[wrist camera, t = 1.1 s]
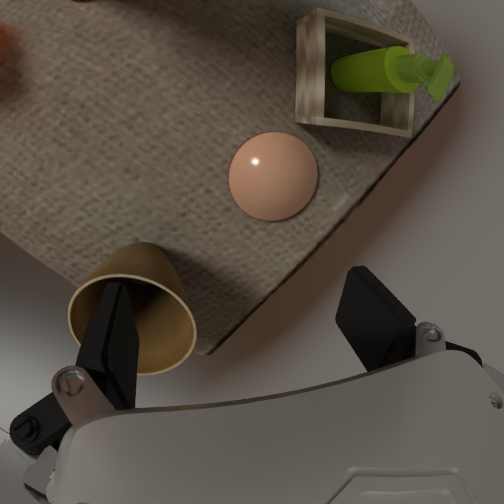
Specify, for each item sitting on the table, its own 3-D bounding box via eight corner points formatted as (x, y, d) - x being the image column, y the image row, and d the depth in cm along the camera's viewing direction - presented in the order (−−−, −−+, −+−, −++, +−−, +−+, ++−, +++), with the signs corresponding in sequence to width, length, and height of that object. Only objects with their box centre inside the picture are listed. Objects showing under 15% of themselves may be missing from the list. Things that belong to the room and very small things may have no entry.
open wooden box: (296, 21, 29) (316, 7, 23) (386, 44, 32) (413, 39, 26) (295, 122, 37) (315, 124, 30) (383, 132, 40) (411, 138, 34)
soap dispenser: (320, 83, 34) (418, 75, 17) (339, 50, 32) (438, 29, 15) (350, 105, 37) (451, 116, 19) (368, 72, 34) (469, 69, 17)
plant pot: (208, 275, 45) (221, 347, 31) (135, 313, 45) (126, 387, 32) (157, 197, 37) (141, 249, 24) (81, 247, 38) (43, 313, 24)
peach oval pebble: (227, 131, 35) (228, 132, 34) (316, 133, 38) (320, 134, 37) (228, 220, 41) (230, 223, 40) (310, 215, 44) (313, 218, 43)
